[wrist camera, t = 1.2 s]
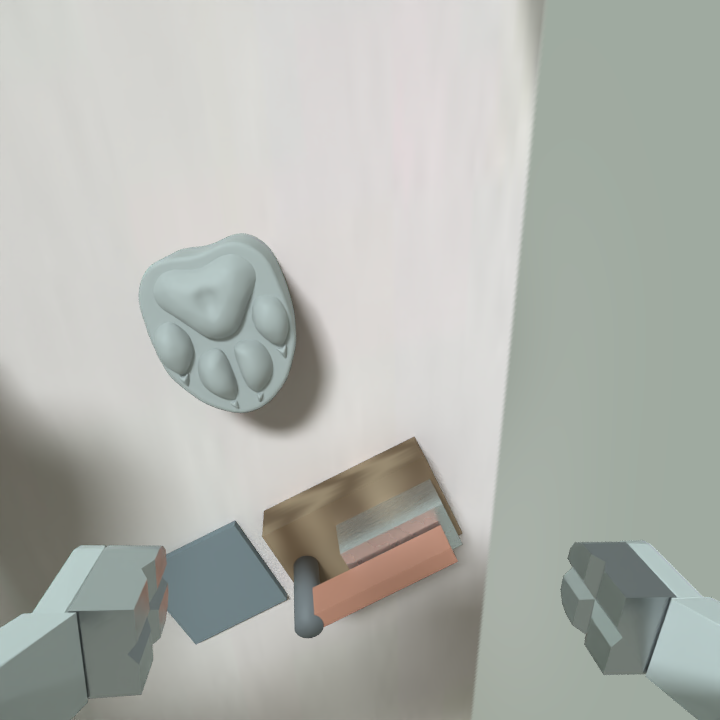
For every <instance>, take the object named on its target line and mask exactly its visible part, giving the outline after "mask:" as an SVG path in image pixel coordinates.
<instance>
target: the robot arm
mask: <svg viewBox="0 0 720 720" xmlns="http://www.w3.org/2000/svg"><path fill="white" fill-rule="evenodd" d="M568 560H569V562H570V564H571V565H572V568H571V569H570V570H569V571H568V572H567V573H566V574H565V575H564V576H563V580H562V585H561V597H562V604H563V607H564V610H565V613H566V615H567V617H568V618H569V620H570V622H571V623H572V625H573V626H575V627H576V628H577V629H579V630H580V631H582V632H583V633H585V634H586V636H585V643H584V645H585V646H586V648H587V649H588V651H589V652H590V654H591V656H592V657H593V659H594V661H595V662H596V663H597V665H598V667H599V668H600V670H601V672H602V673H603V674H604V675H614V674H616V675H618V674H646V677H647V678H648V679H649V680H650V681H651V682H653V683H654V684H655V685H656V686H658V687H659V688H660V689H661V690H662V691H664V692H665V693H666V694H667V695H668V696H670V697H671V698H672V699H673V700H674V701H676V702H677V703H678V704H679V705H681V706H682V707H683V708H684V709H685V710H687V711H688V712H689V713H690V714H691V715H693V716H694V717H695V718H696V719H698V720H720V602H719V601H717V600H715V599H713V598H712V597H703V596H702V595H701V594H700V593H699V592H698V591H697V590H696V589H695V588H694V587H693V586H692V585H691V584H690V583H689V582H688V581H687V580H686V579H685V578H684V577H683V576H682V575H681V574H680V573H679V572H678V571H677V570H676V569H675V568H674V567H673V566H672V565H671V564H670V563H669V562H668V561H667V560H666V559H665V558H664V557H663V556H662V555H661V554H660V553H659V552H658V551H657V550H656V549H655V548H654V547H653V546H652V545H651V544H650V543H648V542H646V541H644V540H636V541H620V542H575V543H574V544H573V545H572V547H571V548H570V551H569V555H568ZM166 565H167V561H166V550H165V548H164V547H163V546H133V545H109V546H105V545H80V546H79V547H77V548H76V549H74V550H73V551H72V553H71V555H70V556H69V558H68V559H67V561H66V562H65V564H64V565H63V567H62V568H61V570H60V571H59V573H58V574H57V576H56V577H55V579H54V580H53V582H52V583H51V585H50V586H49V588H48V589H47V591H46V592H45V594H44V595H43V597H42V598H41V600H40V601H39V603H38V605H37V606H36V608H35V609H34V611H33V612H32V613H29V614H21V615H20V616H18V617H17V618H15V619H13V620H12V621H10V622H9V623H7V624H6V625H4V626H2V627H1V628H0V720H71V719H72V718H73V717H74V716H75V715H76V714H77V713H78V712H79V711H80V710H81V709H82V708H83V706H84V705H85V704H86V703H87V702H88V699H90V698H104V697H117V696H131V695H141V694H142V691H143V688H144V685H145V682H146V680H147V677H148V674H149V671H150V668H151V665H152V662H153V649H152V645H153V644H154V643H155V642H156V641H157V640H158V639H159V638H160V637H161V634H162V631H163V628H164V624H165V619H166V614H167V608H168V583H167V582H166V581H165V580H164V578H163V577H162V575H163V573H164V570H165V567H166Z"/></svg>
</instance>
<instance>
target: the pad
mask: <svg viewBox="0 0 720 720" xmlns="http://www.w3.org/2000/svg"><path fill="white" fill-rule="evenodd" d="M166 561H167V565H166V567H165V570H164V573H163V575H162V577H163V578H164V580H165V581H166V582H167V583H168V608H167V611H168V612H169V613H170V614H171V616H172V617H173V618H174V619H175V620H176V622H177V623H178V624H179V625H180V626H181V627H182V629H183V630H184V631H185V632H186V633H187V635H188V636H189V637H190V638H191V639H192V641H193V642H194V643H195V644H198V643H200V642H202V641H204V640H206V639H208V638H210V637H212V636H214V635H216V634H218V633H220V632H222V631H224V630H226V629H228V628H230V627H232V626H234V625H236V624H238V623H240V622H242V621H244V620H246V619H248V618H250V617H252V616H254V615H257V614H259V613H261V612H263V611H265V610H267V609H269V608H271V607H273V606H275V605H277V604H279V603H281V602H283V601H285V600H287V593H286V592H285V591H284V589H283V588H282V586H281V585H280V583H279V582H278V581H277V579H276V578H275V576H274V575H273V574H272V572H271V571H270V569H269V568H268V566H267V565H266V564H265V562H264V561H263V559H262V558H261V557H260V555H259V554H258V552H257V551H256V549H255V548H254V547H253V545H252V544H251V542H250V541H249V540H248V538H247V537H246V535H245V534H244V532H243V531H242V530H241V528H240V527H239V525H238V524H237V522H236V521H233V522H231V523H229V524H227V525H225V526H223V527H221V528H219V529H217V530H215V531H213V532H211V533H209V534H207V535H205V536H203V537H201V538H199V539H197V540H195V541H193V542H191V543H189V544H187V545H185V546H183V547H181V548H179V549H177V550H175V551H173V552H171V553H169V554H167V555H166Z"/></svg>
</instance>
